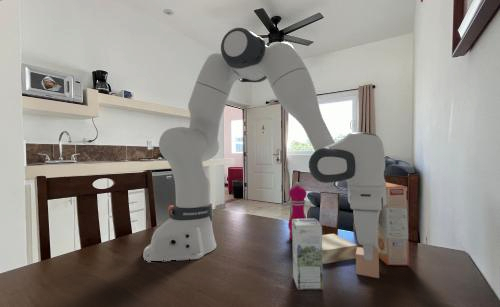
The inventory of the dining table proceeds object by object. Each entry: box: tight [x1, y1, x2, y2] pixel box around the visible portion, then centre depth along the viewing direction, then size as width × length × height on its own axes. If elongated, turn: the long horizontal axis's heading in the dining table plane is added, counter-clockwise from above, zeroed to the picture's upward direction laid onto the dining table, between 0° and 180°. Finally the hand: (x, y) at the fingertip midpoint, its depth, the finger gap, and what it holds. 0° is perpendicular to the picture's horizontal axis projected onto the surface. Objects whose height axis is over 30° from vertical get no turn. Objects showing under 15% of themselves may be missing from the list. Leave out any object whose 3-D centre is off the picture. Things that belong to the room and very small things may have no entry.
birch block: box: [322, 233, 358, 264], centre depth 73 cm, size 11×11×4 cm
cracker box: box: [373, 181, 410, 266], centre depth 71 cm, size 14×6×21 cm, turn 176°
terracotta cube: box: [355, 246, 380, 279], centre depth 61 cm, size 5×5×5 cm
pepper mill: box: [287, 181, 308, 240], centre depth 87 cm, size 7×7×20 cm
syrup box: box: [291, 218, 324, 291], centre depth 56 cm, size 6×6×14 cm
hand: (369, 251), depth 61 cm, fingers open, 8 cm apart
